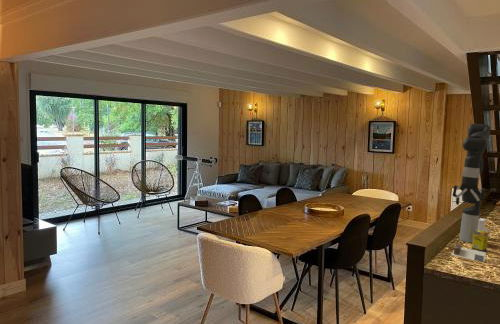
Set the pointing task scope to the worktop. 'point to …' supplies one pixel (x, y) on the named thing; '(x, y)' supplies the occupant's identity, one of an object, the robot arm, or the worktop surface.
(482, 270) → the worktop surface
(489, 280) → the worktop surface
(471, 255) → the stool seat
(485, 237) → the supplement box
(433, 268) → the worktop surface
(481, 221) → the cylinder with rectangular tab
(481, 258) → the leg stop
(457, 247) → the folding leg
